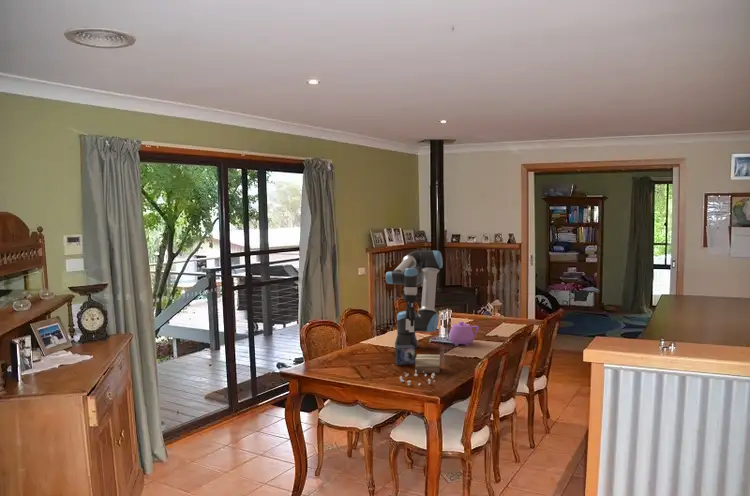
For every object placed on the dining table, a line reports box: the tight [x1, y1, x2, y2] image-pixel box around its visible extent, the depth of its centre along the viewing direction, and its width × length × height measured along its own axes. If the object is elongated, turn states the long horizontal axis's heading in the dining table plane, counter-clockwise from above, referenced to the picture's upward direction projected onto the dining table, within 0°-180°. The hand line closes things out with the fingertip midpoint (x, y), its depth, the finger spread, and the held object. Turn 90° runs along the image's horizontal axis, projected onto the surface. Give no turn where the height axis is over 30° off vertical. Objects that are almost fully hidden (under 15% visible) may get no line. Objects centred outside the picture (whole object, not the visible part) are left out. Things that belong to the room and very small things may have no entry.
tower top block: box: [415, 353, 441, 367], centre depth 322 cm, size 10×13×4 cm
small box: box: [394, 345, 416, 367], centre depth 336 cm, size 11×6×10 cm, turn 101°
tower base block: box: [414, 365, 441, 374], centre depth 322 cm, size 10×13×4 cm
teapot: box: [448, 321, 480, 347], centre depth 383 cm, size 20×20×15 cm
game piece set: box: [399, 369, 436, 387], centre depth 304 cm, size 19×20×4 cm
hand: (409, 331), depth 338 cm, fingers open, 13 cm apart
